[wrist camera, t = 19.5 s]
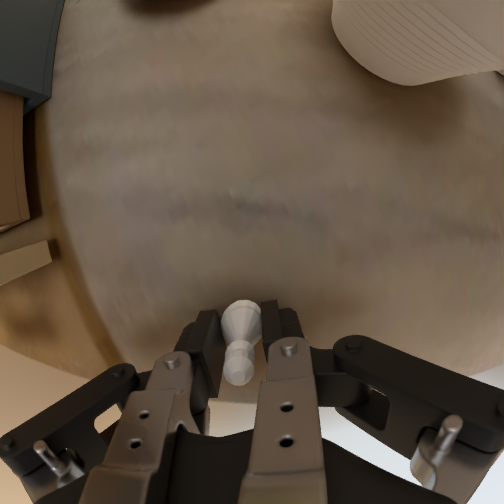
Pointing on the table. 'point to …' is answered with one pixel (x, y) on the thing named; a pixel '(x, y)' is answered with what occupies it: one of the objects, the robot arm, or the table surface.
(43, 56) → the cabinet
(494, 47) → the cup
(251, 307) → the chess pawn
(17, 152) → the drawer
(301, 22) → the table surface
